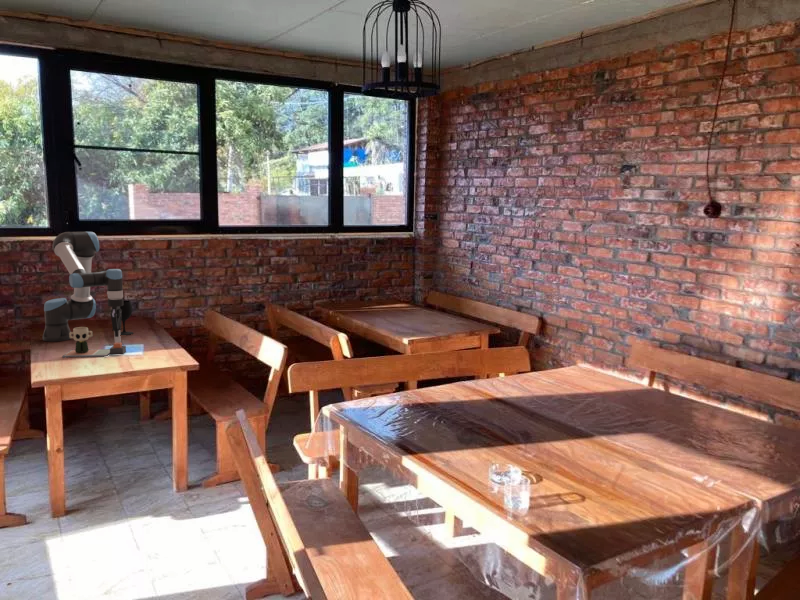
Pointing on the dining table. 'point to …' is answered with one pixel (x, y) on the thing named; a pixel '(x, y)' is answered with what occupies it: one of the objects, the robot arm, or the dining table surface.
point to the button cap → (117, 345)
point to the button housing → (117, 350)
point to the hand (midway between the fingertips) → (117, 342)
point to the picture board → (88, 353)
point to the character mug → (81, 338)
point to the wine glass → (126, 315)
